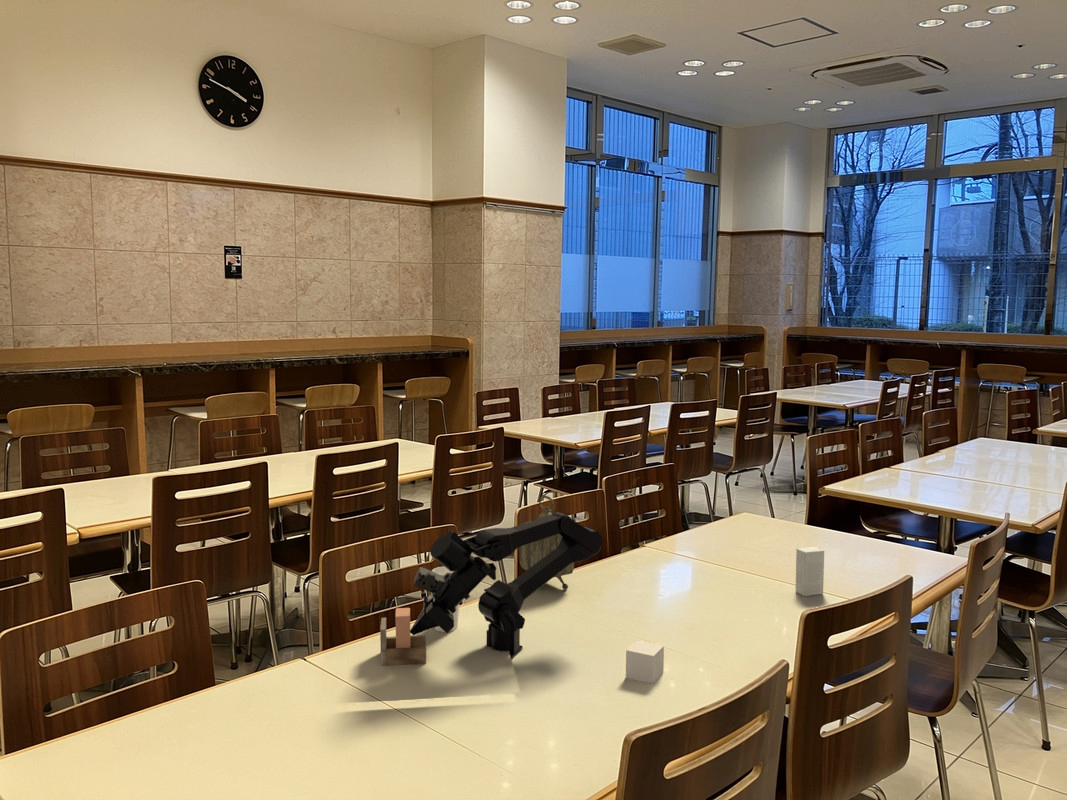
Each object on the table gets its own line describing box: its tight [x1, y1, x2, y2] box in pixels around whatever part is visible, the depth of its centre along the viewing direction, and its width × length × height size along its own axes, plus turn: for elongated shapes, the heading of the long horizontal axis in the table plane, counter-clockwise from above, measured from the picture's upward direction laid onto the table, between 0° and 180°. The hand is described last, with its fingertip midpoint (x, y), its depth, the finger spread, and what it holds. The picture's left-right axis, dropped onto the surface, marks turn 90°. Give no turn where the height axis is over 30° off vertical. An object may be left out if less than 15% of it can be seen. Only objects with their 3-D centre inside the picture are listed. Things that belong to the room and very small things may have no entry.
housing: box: [379, 617, 427, 667], centre depth 187 cm, size 10×8×9 cm
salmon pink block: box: [395, 607, 411, 649], centre depth 187 cm, size 3×5×10 cm, turn 8°
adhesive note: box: [625, 640, 665, 684], centre depth 182 cm, size 6×6×6 cm
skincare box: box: [795, 546, 825, 597], centre depth 233 cm, size 6×4×12 cm
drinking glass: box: [431, 566, 460, 633], centre depth 204 cm, size 7×7×15 cm
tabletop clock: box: [518, 495, 575, 591], centre depth 237 cm, size 14×9×25 cm, turn 34°
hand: (411, 633), depth 187 cm, fingers closed, pressing on salmon pink block
